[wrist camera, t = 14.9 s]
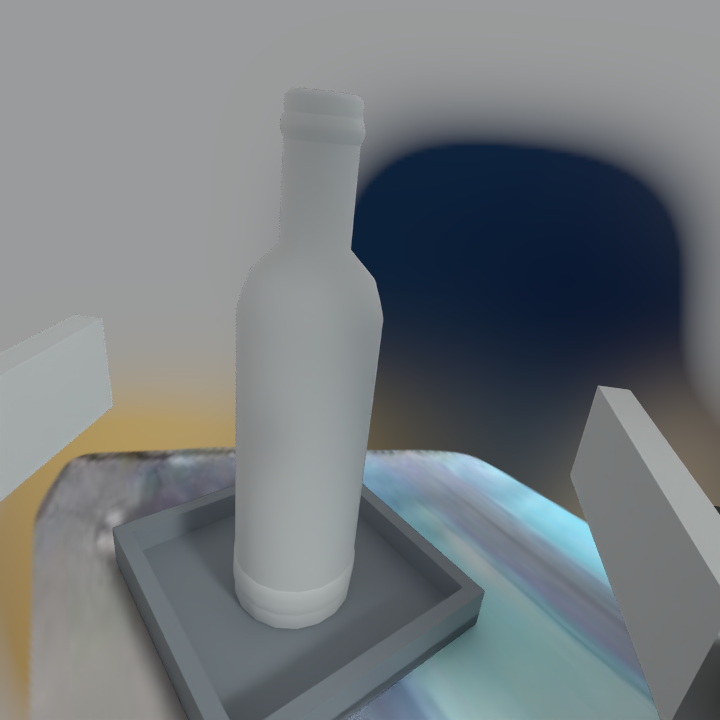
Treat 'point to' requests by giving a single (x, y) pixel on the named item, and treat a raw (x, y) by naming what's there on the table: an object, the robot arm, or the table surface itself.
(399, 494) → the table surface
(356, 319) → the bottle
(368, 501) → the tray
